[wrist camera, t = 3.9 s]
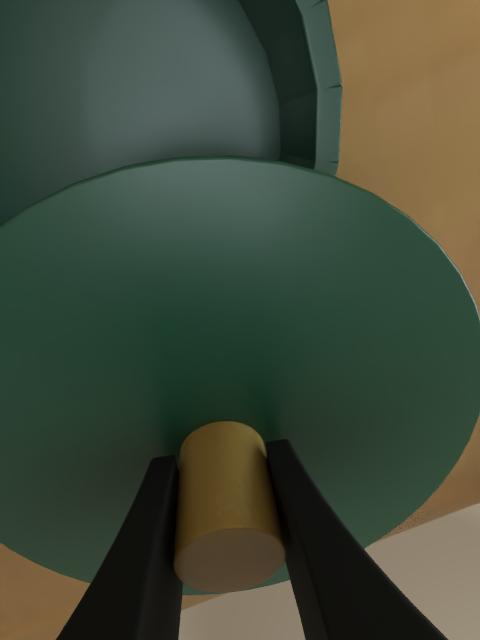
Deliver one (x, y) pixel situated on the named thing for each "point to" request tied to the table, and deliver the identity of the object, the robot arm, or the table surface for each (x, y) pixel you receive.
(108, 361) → the tin lid
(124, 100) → the tin
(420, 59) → the table surface
